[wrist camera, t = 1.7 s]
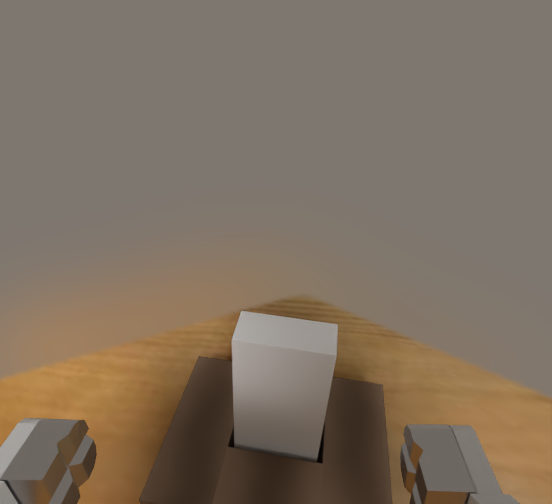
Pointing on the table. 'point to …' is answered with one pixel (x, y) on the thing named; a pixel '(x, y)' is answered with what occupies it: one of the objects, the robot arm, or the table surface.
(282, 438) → the tall white pillar
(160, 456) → the slotted box
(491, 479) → the robot arm
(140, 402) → the table surface
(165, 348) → the table surface
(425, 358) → the table surface
